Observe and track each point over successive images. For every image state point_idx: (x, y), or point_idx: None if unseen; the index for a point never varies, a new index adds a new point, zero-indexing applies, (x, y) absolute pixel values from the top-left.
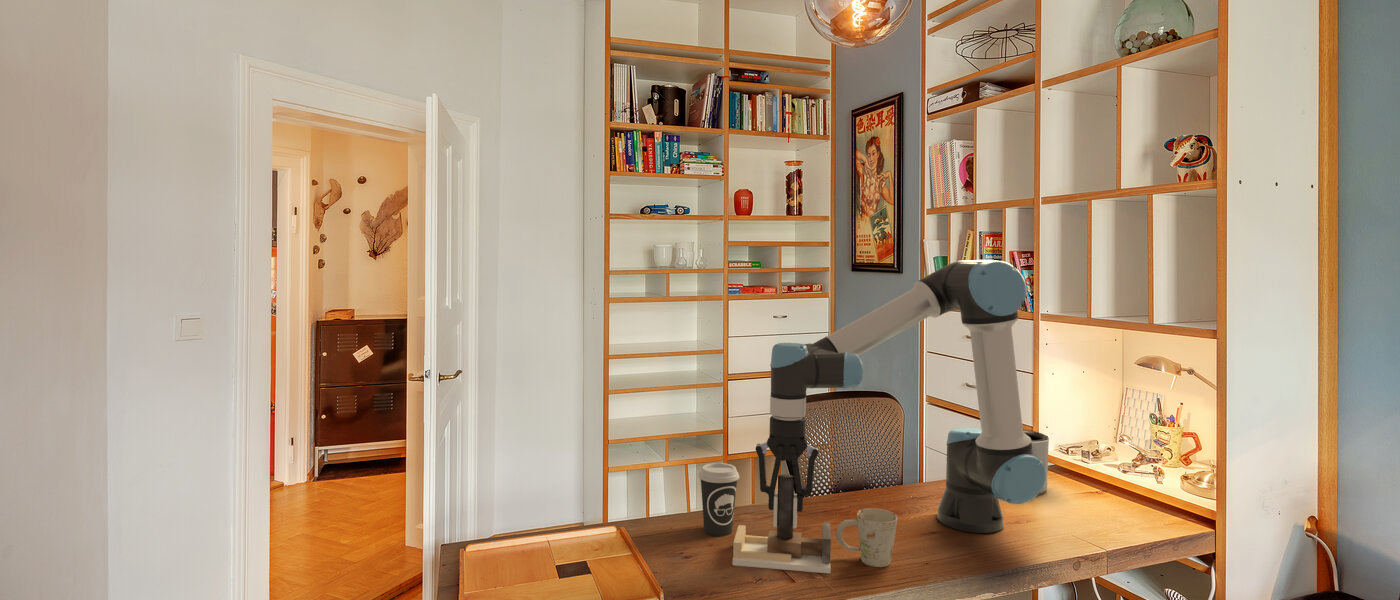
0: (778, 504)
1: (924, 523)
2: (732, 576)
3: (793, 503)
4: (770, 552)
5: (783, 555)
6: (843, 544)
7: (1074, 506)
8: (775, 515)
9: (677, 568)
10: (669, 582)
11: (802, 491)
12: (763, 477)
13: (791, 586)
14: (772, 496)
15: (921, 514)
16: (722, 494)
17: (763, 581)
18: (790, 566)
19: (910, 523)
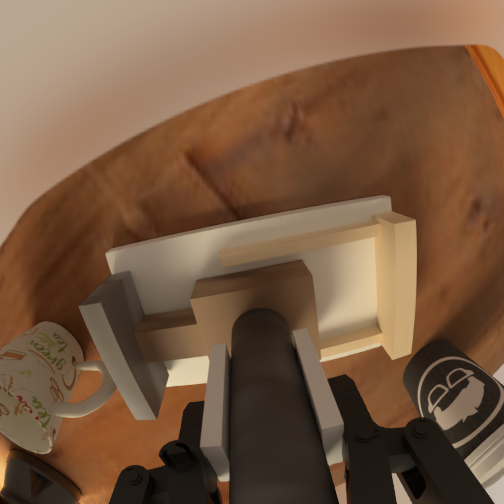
0: (306, 404)
1: (79, 476)
2: (365, 125)
3: (222, 421)
4: (293, 264)
5: (244, 250)
6: (104, 367)
7: None
8: (308, 357)
9: (477, 140)
10: (465, 70)
11: (173, 485)
12: (451, 487)
13: (189, 121)
14: (351, 427)
15: (98, 495)
16: (480, 407)
17: (275, 121)
18: (216, 226)
19: (93, 477)
